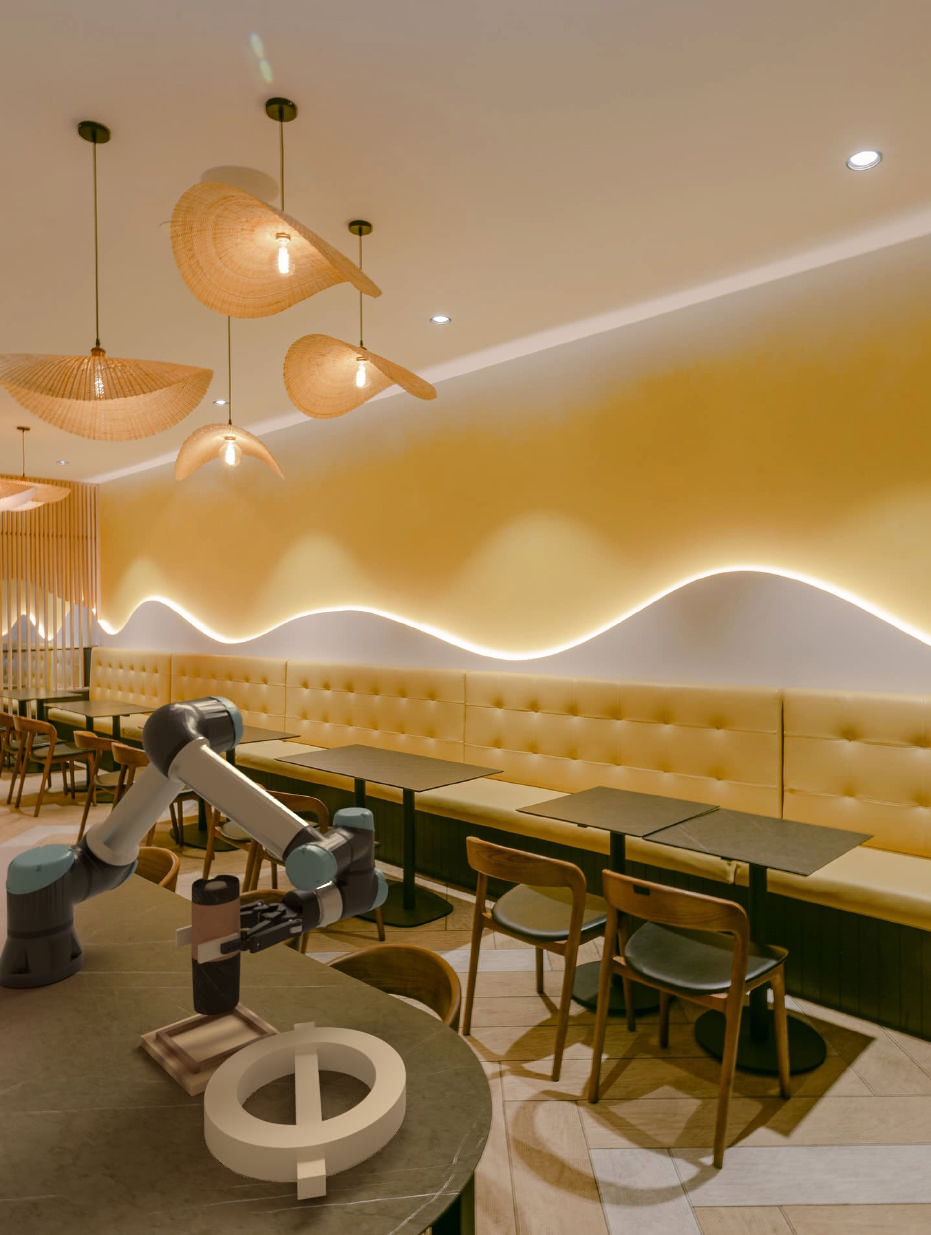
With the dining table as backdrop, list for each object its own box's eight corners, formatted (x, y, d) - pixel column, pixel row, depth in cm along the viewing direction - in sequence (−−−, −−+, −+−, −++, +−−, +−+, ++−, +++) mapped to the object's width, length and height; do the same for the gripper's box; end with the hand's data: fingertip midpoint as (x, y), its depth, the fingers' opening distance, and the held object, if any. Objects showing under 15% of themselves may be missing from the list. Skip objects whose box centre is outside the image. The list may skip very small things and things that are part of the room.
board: (140, 1045, 127) (140, 1029, 127) (235, 1008, 139) (235, 994, 139) (192, 1096, 114) (192, 1079, 114) (292, 1050, 126) (292, 1035, 126)
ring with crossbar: (312, 1218, 91) (312, 1178, 91) (160, 1134, 106) (160, 1099, 106) (443, 1093, 115) (443, 1061, 115) (304, 1038, 130) (304, 1010, 130)
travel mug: (226, 1018, 122) (225, 892, 122) (182, 1014, 123) (181, 888, 123) (249, 995, 129) (248, 875, 129) (207, 990, 131) (206, 872, 131)
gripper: (343, 945, 132) (217, 992, 116) (280, 912, 146) (160, 950, 130) (343, 901, 132) (217, 942, 116) (280, 873, 146) (160, 905, 130)
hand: (187, 946), depth 123 cm, fingers closed on travel mug, 7 cm apart
